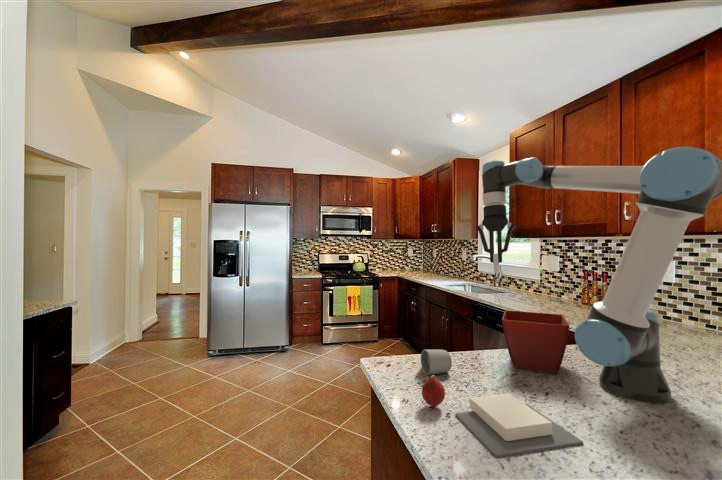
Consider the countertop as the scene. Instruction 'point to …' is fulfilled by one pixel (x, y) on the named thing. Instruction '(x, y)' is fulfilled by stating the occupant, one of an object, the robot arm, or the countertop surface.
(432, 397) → the onion
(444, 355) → the ceramic mug
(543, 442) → the mat
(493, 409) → the tile
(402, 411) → the countertop surface
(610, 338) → the robot arm
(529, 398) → the countertop surface
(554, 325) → the plant pot
